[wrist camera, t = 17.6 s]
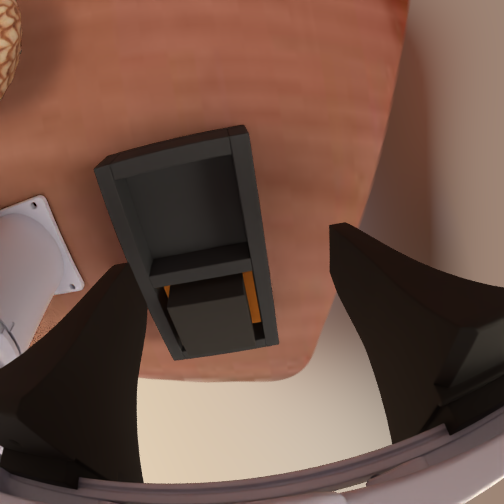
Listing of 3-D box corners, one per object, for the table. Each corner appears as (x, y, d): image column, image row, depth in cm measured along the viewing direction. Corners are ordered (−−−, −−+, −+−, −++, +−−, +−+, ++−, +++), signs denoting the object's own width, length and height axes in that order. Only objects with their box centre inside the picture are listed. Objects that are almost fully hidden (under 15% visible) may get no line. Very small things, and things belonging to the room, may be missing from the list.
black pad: (189, 327, 24) (188, 356, 22) (170, 279, 22) (166, 308, 19) (251, 317, 25) (256, 346, 22) (240, 266, 22) (245, 294, 19)
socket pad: (175, 338, 26) (173, 360, 24) (106, 156, 17) (93, 169, 15) (274, 322, 26) (279, 344, 24) (244, 124, 17) (248, 132, 15)
